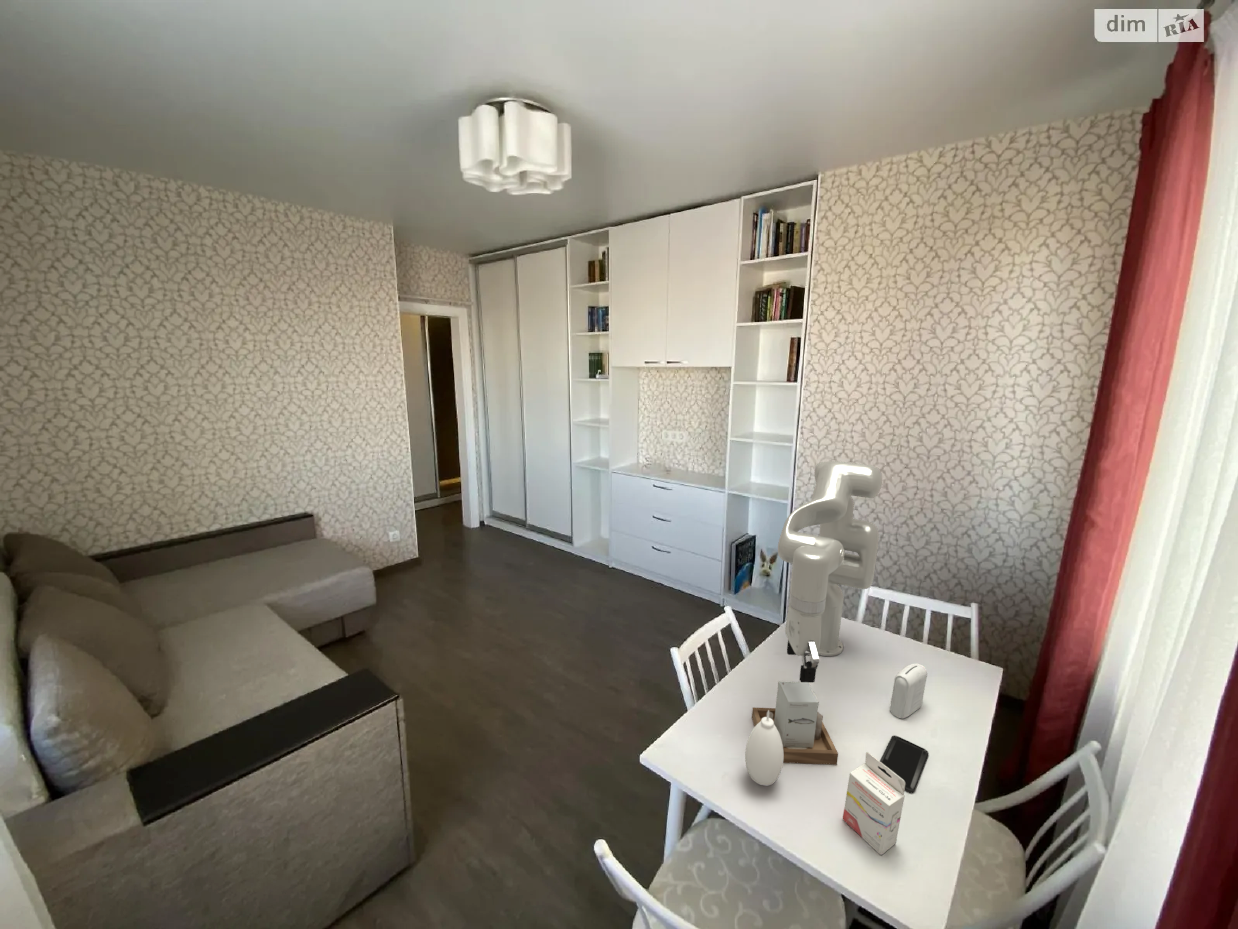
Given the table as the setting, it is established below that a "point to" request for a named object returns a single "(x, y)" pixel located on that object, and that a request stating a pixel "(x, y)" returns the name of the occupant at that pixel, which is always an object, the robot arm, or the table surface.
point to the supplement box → (796, 714)
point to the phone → (904, 761)
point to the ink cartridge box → (874, 804)
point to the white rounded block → (908, 690)
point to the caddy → (805, 755)
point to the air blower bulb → (764, 752)
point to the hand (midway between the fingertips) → (800, 667)
